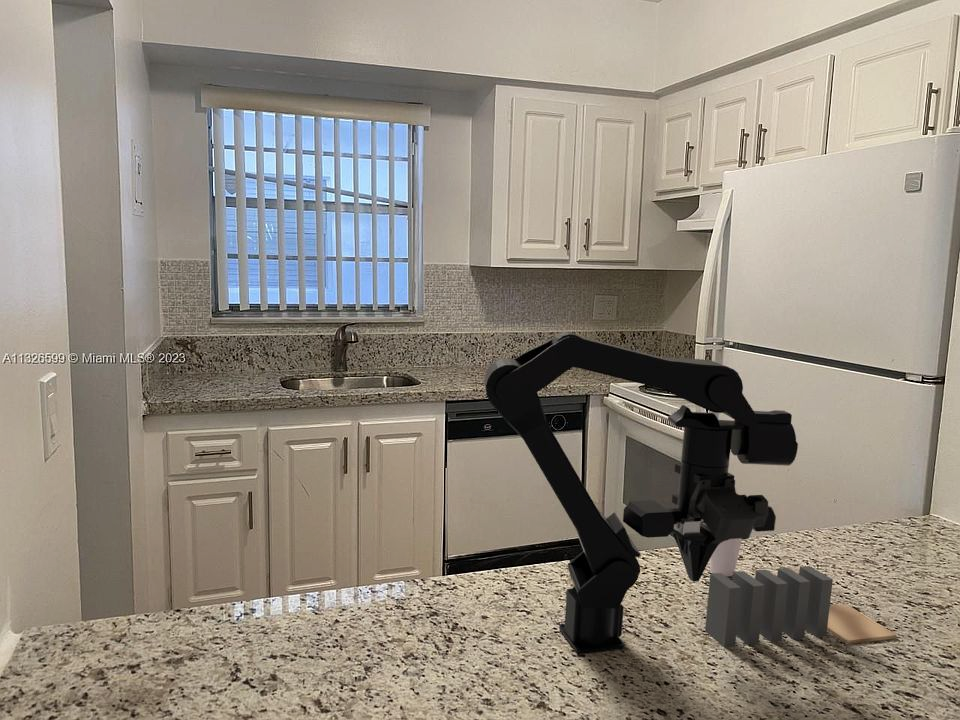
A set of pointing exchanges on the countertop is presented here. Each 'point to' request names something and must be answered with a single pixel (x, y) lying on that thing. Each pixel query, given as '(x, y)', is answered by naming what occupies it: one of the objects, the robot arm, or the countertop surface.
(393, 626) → the countertop surface
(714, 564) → the smoothie
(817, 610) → the tile
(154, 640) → the countertop surface
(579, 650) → the robot arm
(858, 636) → the pad
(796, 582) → the tile
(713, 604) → the tile
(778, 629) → the tile
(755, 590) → the tile
